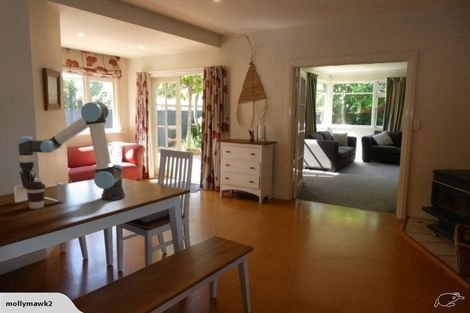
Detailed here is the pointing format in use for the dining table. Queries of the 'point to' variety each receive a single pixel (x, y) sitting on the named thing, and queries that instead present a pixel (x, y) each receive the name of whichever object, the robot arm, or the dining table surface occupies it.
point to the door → (20, 193)
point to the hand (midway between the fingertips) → (28, 198)
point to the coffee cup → (35, 194)
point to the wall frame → (60, 192)
